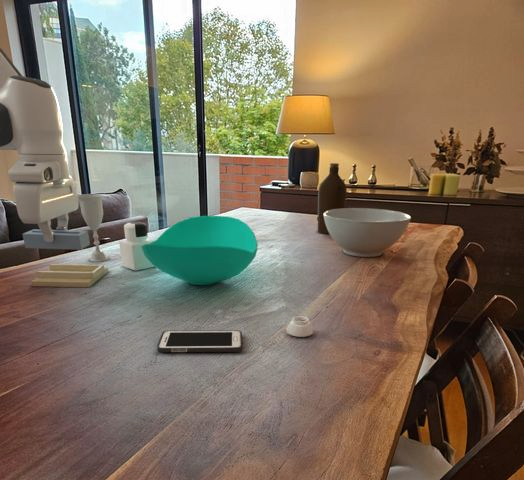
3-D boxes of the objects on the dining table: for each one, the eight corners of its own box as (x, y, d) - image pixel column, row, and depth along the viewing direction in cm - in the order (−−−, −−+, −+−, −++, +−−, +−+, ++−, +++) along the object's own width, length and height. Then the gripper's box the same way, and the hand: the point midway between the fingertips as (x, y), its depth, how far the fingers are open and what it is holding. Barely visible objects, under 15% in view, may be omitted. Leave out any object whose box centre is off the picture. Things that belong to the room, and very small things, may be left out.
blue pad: (25, 248, 97) (22, 233, 95) (36, 243, 101) (33, 228, 100) (81, 249, 97) (79, 234, 95) (89, 244, 101) (88, 230, 100)
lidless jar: (317, 332, 87) (296, 326, 90) (318, 318, 86) (297, 312, 89) (302, 340, 84) (281, 333, 87) (303, 326, 83) (281, 319, 86)
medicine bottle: (143, 261, 134) (139, 219, 129) (157, 266, 129) (153, 223, 124) (121, 266, 129) (116, 222, 124) (134, 271, 125) (130, 226, 120)
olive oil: (348, 231, 180) (354, 163, 169) (334, 235, 172) (339, 164, 162) (324, 228, 186) (329, 162, 175) (310, 232, 178) (314, 163, 168)
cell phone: (242, 352, 79) (242, 347, 78) (156, 353, 78) (155, 348, 78) (241, 334, 86) (241, 330, 85) (163, 335, 85) (162, 330, 85)
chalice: (106, 262, 132) (97, 197, 125) (83, 262, 133) (72, 197, 125) (114, 256, 139) (106, 194, 131) (91, 256, 139) (82, 194, 131)
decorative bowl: (376, 241, 164) (380, 206, 158) (422, 259, 141) (429, 219, 136) (308, 246, 156) (310, 209, 151) (344, 265, 133) (348, 223, 128)
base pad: (32, 286, 112) (30, 275, 110) (56, 270, 124) (55, 260, 123) (90, 287, 111) (88, 276, 110) (109, 271, 124) (107, 261, 123)
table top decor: (171, 260, 136) (168, 214, 131) (263, 263, 134) (264, 217, 128) (122, 304, 100) (115, 244, 95) (247, 310, 98) (247, 248, 93)
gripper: (52, 165, 102) (62, 228, 108) (2, 172, 83) (18, 248, 89) (80, 166, 102) (89, 229, 108) (37, 173, 83) (50, 249, 89)
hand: (56, 238), depth 98 cm, fingers closed on blue pad, 5 cm apart
